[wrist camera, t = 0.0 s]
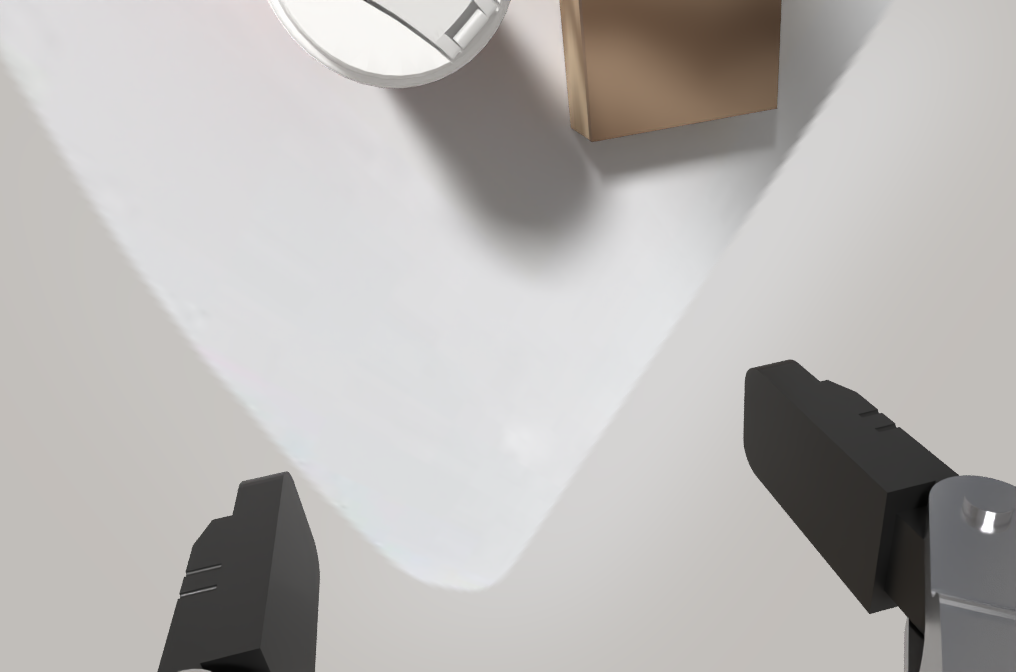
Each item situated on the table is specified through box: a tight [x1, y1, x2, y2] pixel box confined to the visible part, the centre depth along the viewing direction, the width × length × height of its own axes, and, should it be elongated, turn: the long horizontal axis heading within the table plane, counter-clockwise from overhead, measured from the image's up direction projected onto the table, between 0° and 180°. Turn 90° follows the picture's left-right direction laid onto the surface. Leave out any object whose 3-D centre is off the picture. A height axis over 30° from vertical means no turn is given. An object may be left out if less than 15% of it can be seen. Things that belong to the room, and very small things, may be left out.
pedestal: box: [560, 0, 781, 142], centre depth 36 cm, size 10×10×4 cm
